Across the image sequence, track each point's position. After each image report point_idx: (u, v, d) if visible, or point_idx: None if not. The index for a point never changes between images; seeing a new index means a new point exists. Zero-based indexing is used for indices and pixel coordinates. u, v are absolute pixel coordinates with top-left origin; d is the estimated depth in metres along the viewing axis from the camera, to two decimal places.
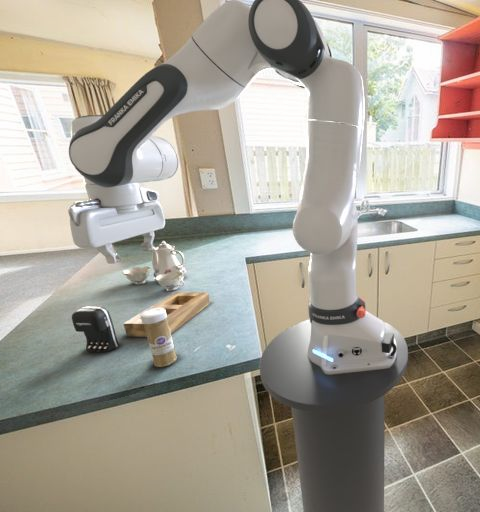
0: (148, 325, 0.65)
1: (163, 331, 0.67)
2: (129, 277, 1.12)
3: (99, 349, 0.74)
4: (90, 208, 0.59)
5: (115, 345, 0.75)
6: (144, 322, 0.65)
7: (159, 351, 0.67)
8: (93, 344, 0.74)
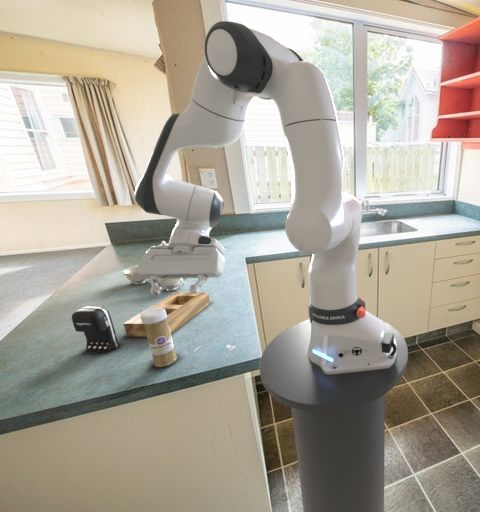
0: (148, 325, 0.65)
1: (163, 331, 0.67)
2: (129, 277, 1.12)
3: (99, 349, 0.74)
4: None
5: (115, 345, 0.75)
6: (144, 322, 0.65)
7: (159, 351, 0.67)
8: (93, 344, 0.74)
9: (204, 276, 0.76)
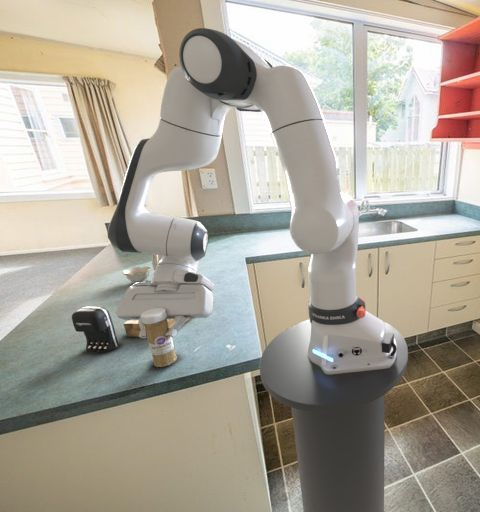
0: (148, 325, 0.65)
1: (163, 331, 0.67)
2: (129, 277, 1.12)
3: (99, 349, 0.74)
4: None
5: (115, 345, 0.75)
6: (144, 322, 0.65)
7: (159, 351, 0.67)
8: (93, 344, 0.74)
9: (182, 318, 0.70)
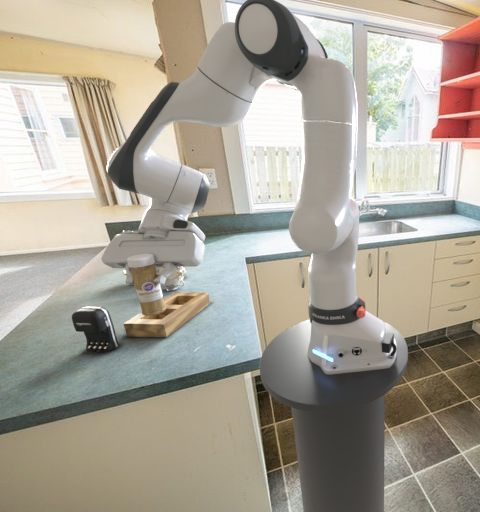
0: (134, 269, 0.62)
1: (150, 277, 0.64)
2: None
3: (99, 349, 0.74)
4: None
5: (115, 345, 0.75)
6: (130, 265, 0.62)
7: (146, 298, 0.64)
8: (93, 344, 0.74)
9: (171, 265, 0.67)
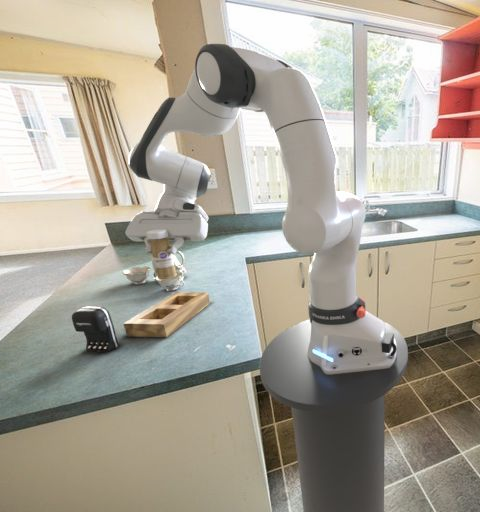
0: (152, 240, 0.78)
1: (165, 247, 0.80)
2: (129, 277, 1.12)
3: (99, 349, 0.74)
4: None
5: (115, 345, 0.75)
6: (149, 237, 0.78)
7: (161, 264, 0.80)
8: (93, 344, 0.74)
9: (181, 239, 0.83)
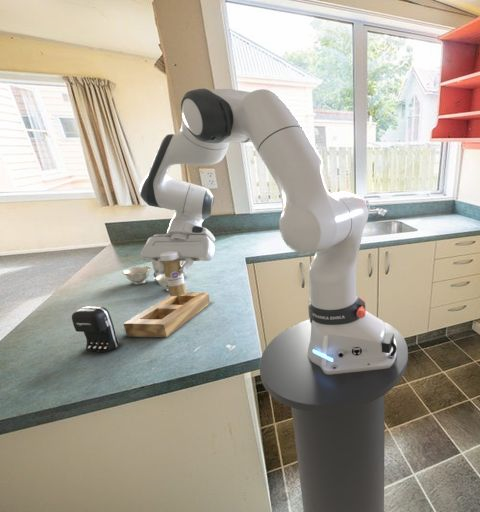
0: (165, 262, 0.87)
1: (176, 268, 0.89)
2: (129, 277, 1.12)
3: (99, 349, 0.74)
4: None
5: (115, 345, 0.75)
6: (162, 259, 0.87)
7: (173, 283, 0.89)
8: (93, 344, 0.74)
9: (190, 259, 0.91)
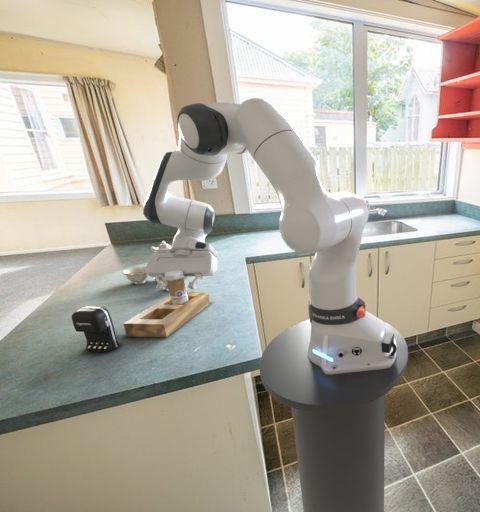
0: (170, 281, 0.89)
1: (181, 287, 0.91)
2: (129, 277, 1.12)
3: (99, 349, 0.74)
4: None
5: (115, 345, 0.75)
6: (167, 279, 0.88)
7: (178, 301, 0.91)
8: (93, 344, 0.74)
9: (200, 275, 0.93)
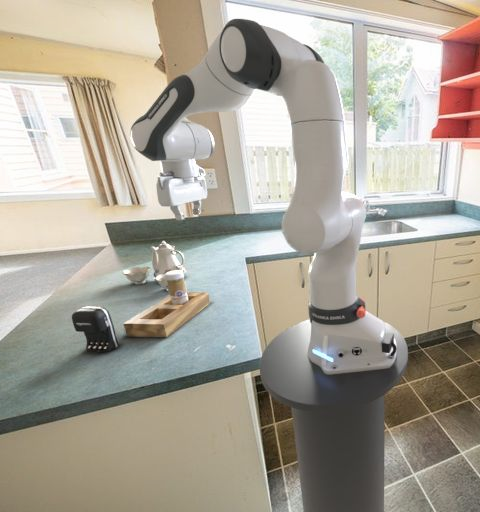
0: (170, 281, 0.89)
1: (181, 287, 0.91)
2: (129, 277, 1.12)
3: (99, 349, 0.74)
4: (168, 177, 0.82)
5: (115, 345, 0.75)
6: (167, 279, 0.88)
7: (178, 301, 0.91)
8: (93, 344, 0.74)
9: None
